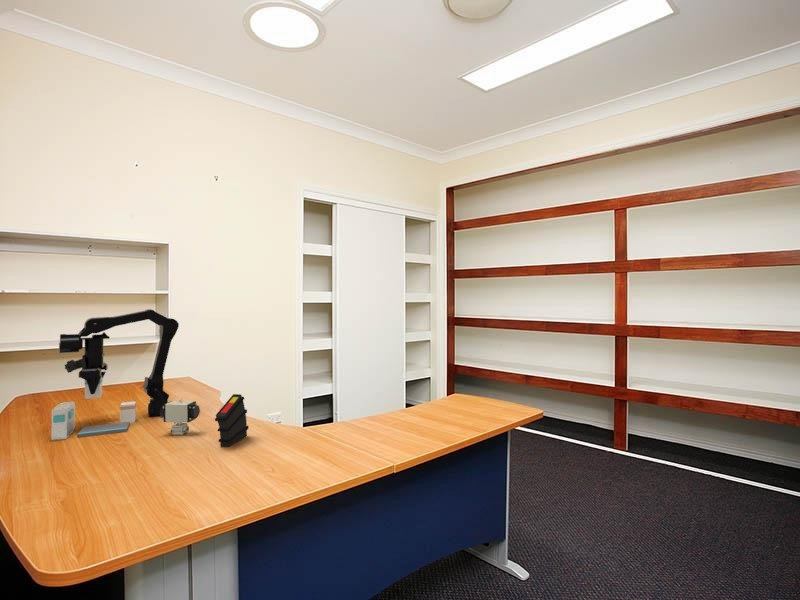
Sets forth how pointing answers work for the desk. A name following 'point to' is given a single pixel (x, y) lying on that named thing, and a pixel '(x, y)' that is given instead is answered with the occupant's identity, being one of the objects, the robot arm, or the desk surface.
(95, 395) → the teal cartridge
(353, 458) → the desk surface
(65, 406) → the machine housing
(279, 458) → the desk surface
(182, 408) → the pneumatic valve
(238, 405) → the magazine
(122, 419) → the light grey boxy piece
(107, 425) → the plate
